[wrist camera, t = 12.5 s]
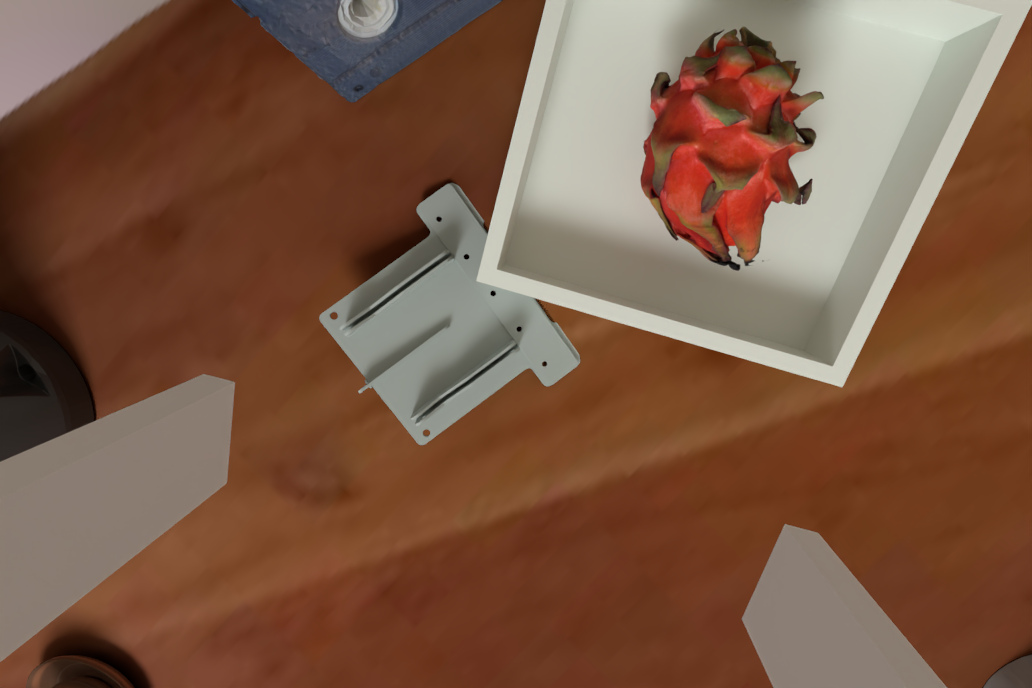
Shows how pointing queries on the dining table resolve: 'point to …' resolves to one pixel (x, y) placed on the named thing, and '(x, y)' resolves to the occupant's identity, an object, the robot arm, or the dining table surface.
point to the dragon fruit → (725, 145)
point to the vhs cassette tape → (362, 34)
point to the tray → (787, 227)
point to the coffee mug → (1013, 675)
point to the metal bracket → (444, 325)
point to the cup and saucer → (76, 674)
